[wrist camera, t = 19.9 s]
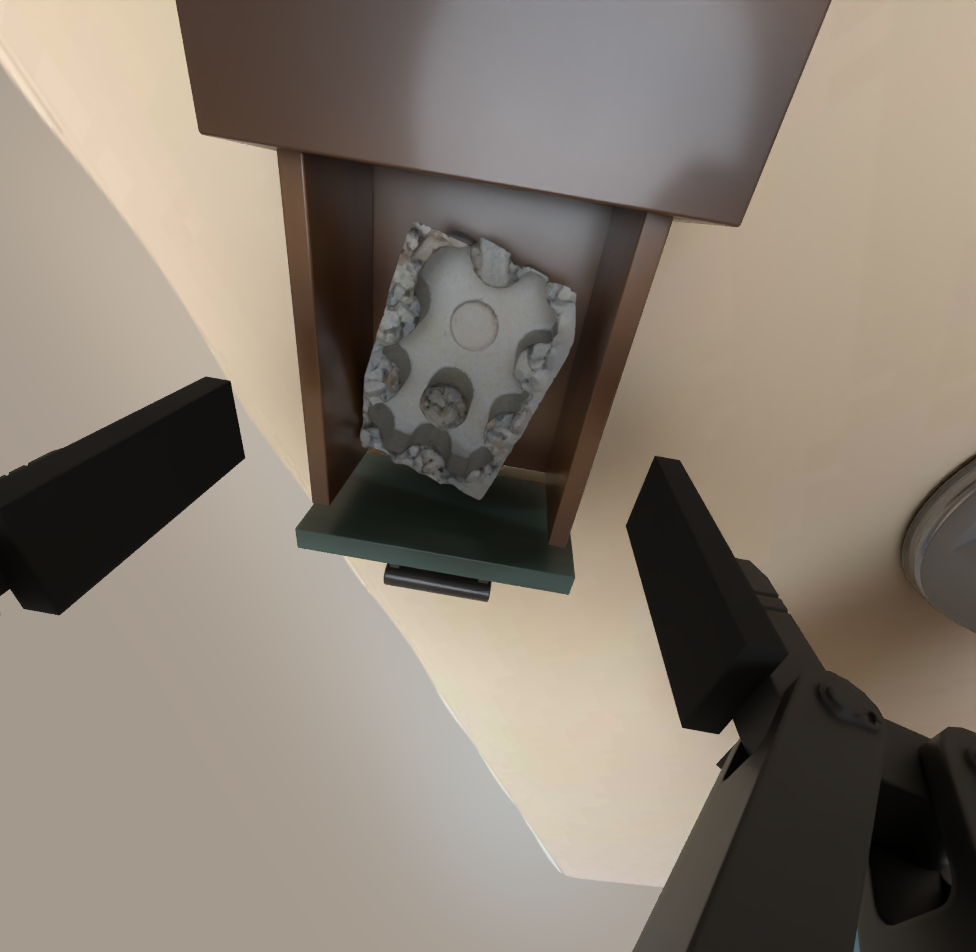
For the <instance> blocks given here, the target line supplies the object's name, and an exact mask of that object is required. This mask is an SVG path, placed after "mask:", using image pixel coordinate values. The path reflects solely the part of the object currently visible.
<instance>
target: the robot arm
mask: <svg viewBox="0 0 976 952" xmlns="http://www.w3.org/2000/svg"><path fill="white" fill-rule="evenodd" d="M243 459H245V455H244V449H243V444H242V439H241V434H240V428H239V423H238V418H237V413H236V408H235V403H234V397H233V392H232V387H231V382H230V381H228V380H222V379H217V378H211V377H204V378H202V379H200V380H198V381H196V382H194V383H192V384H190V385H188V386H186V387H184V388H182V389H180V390H178V391H176V392H174V393H172V394H170V395H168V396H166V397H164V398H162V399H160V400H158V401H156V402H154V403H152V404H150V405H148V406H146V407H144V408H142V409H140V410H138V411H136V412H134V413H132V414H130V415H128V416H126V417H124V418H122V419H120V420H118V421H116V422H114V423H112V424H110V425H108V426H106V427H104V428H102V429H100V430H98V431H96V432H94V433H92V434H90V435H88V436H86V437H84V438H82V439H81V440H78V441H76V442H75V443H72V444H70V445H68V446H66V447H64V448H61V449H58V450H55V451H51V452H49V453H47V454H46V455H43V456H42V457H39V458H37V459H35V460H33V461H31V462H30V463H28V466H25V465H23V466H21V467H19V468H17V469H15V470H13V471H11V472H9V475H8V476H6V475H3V476H1V477H0V596H1V595H2V594H4V593H5V592H6V591H8V590H9V589H11V591H12V592H13V594H14V595H15V597H16V598H17V600H18V601H19V603H20V604H21V606H22V607H23V609H27V610H34V611H39V612H45V613H50V614H55V615H60V614H61V613H63V612H64V611H65V610H66V609H68V608H69V607H70V606H71V605H72V604H73V603H74V602H76V601H77V600H78V599H79V598H80V597H82V596H83V595H84V594H85V593H86V592H88V591H89V590H90V589H91V588H92V587H94V586H95V585H96V584H97V583H98V582H99V581H101V580H102V579H103V578H104V577H105V576H107V575H108V574H109V573H110V572H111V571H112V570H113V569H115V568H116V567H117V566H118V565H119V564H121V563H122V562H123V561H124V560H125V559H126V558H128V557H129V556H130V555H131V554H132V553H134V552H135V551H136V550H137V549H138V548H140V547H141V546H142V545H143V544H144V543H145V542H147V541H148V540H149V539H150V538H151V537H153V536H154V535H155V534H156V533H157V532H158V531H160V530H161V529H162V528H163V527H164V526H166V525H167V524H168V523H169V522H170V521H171V520H172V519H174V518H175V517H176V516H177V515H178V514H180V513H181V512H182V511H183V510H184V509H186V508H187V507H188V506H189V505H190V504H192V502H194V501H195V500H196V499H197V498H199V497H200V496H201V495H202V494H203V493H204V492H206V491H207V490H208V489H209V488H210V487H212V486H213V485H214V484H215V483H216V482H217V481H219V480H220V479H221V478H222V477H223V476H225V475H226V474H227V473H228V472H229V471H230V470H232V469H233V468H234V467H235V466H236V465H238V464H239V463H240V462H241V461H242V460H243ZM626 528H627V532H628V535H629V539H630V542H631V546H632V549H633V553H634V557H635V560H636V564H637V567H638V571H639V575H640V578H641V582H642V585H643V589H644V592H645V596H646V600H647V603H648V607H649V610H650V614H651V618H652V621H653V625H654V628H655V632H656V635H657V639H658V643H659V646H660V650H661V653H662V657H663V661H664V664H665V668H666V671H667V675H668V679H669V682H670V686H671V689H672V693H673V696H674V700H675V704H676V707H677V711H678V714H679V718H680V722H681V725H682V728H686V729H692V730H697V731H703V732H708V733H714V734H720V733H721V731H722V730H723V729H724V728H725V727H726V726H727V725H728V723H729V722H730V721H731V720H732V719H733V721H734V723H735V726H736V729H737V731H738V734H739V736H740V740H739V741H738V742H737V743H736V744H735V745H734V746H733V747H732V748H731V749H730V750H729V751H728V752H727V753H726V754H725V756H724V757H723V758H722V759H721V760H720V761H719V762H718V763H717V764H716V765H717V766H718V767H719V768H721V769H722V770H721V772H720V774H719V776H718V778H717V780H716V782H715V784H714V786H713V788H712V790H711V792H710V794H709V796H708V798H707V800H706V802H705V804H704V806H703V808H702V811H701V813H700V815H699V817H698V819H697V821H696V823H695V825H694V827H693V829H692V831H691V833H690V835H689V837H688V839H687V841H686V843H685V845H684V847H683V849H682V851H681V853H680V855H679V857H678V860H677V862H676V864H675V866H674V868H673V870H672V872H671V874H670V876H669V878H668V880H667V882H666V884H665V886H664V888H663V890H662V892H661V894H660V896H659V898H658V901H657V903H656V904H655V906H654V909H653V911H652V913H651V915H650V917H649V919H648V921H647V923H646V925H645V927H644V929H643V931H642V933H641V935H640V937H639V939H638V941H637V944H636V946H635V947H634V949H633V952H976V733H975V732H972V731H970V730H967V729H964V728H961V727H947V728H946V729H945V730H943V731H942V732H940V733H939V734H937V735H936V736H935V737H933V738H932V739H930V738H927V737H925V736H923V735H921V734H918V733H916V732H914V731H912V730H909V729H907V728H905V727H902V726H900V725H898V724H896V723H893V722H891V721H889V720H887V719H884V718H883V716H882V714H881V713H880V711H879V709H878V707H877V706H876V705H875V704H874V703H873V702H872V701H871V700H870V699H869V698H868V697H867V695H866V694H865V693H864V692H862V691H861V690H860V689H858V688H857V687H856V686H855V685H853V684H852V683H851V682H849V681H848V680H846V679H844V678H842V677H840V676H838V675H837V674H835V673H833V672H830V671H826V670H825V669H824V667H823V666H822V664H821V662H820V661H819V659H818V658H817V656H816V654H815V653H814V651H813V650H812V648H811V646H810V645H809V643H808V642H807V640H806V638H805V637H804V635H803V634H802V632H801V630H800V629H799V627H798V626H797V624H796V622H795V621H794V619H793V618H792V616H791V614H788V613H787V611H788V610H787V608H786V606H785V605H784V603H783V602H782V600H781V599H778V596H779V595H778V594H777V592H776V590H775V589H774V587H773V586H772V584H771V582H770V581H769V579H768V578H767V577H766V576H765V575H764V574H763V573H762V572H761V571H760V570H759V569H758V568H757V567H756V566H755V565H754V564H753V563H751V562H750V561H749V560H743V559H738V558H735V557H734V555H733V553H732V551H731V550H730V548H729V546H728V544H727V543H726V541H725V539H724V537H723V536H722V534H721V532H720V530H719V528H718V527H717V525H716V523H715V521H714V520H713V518H712V516H711V514H710V513H709V511H708V509H707V507H706V506H705V504H704V502H703V500H702V499H701V497H700V495H699V493H698V491H697V490H696V488H695V486H694V484H693V483H692V481H691V479H690V477H689V476H688V474H687V472H686V470H685V469H684V467H683V465H682V463H681V462H680V460H675V459H670V458H664V457H658V456H655V457H654V459H653V462H652V464H651V466H650V469H649V471H648V474H647V476H646V478H645V481H644V483H643V486H642V488H641V490H640V493H639V495H638V498H637V500H636V502H635V505H634V507H633V510H632V512H631V514H630V517H629V519H628V522H627V524H626ZM902 566H903V569H904V573H905V575H906V577H907V579H908V580H909V581H910V583H911V584H912V585H913V586H914V587H915V588H916V589H917V590H918V591H919V592H920V593H921V594H922V595H923V596H924V597H925V598H926V599H927V600H928V601H929V602H930V603H931V604H932V605H933V606H934V607H935V608H936V609H937V610H939V611H940V612H941V613H943V614H945V615H946V616H947V617H949V618H950V619H952V620H953V621H955V622H956V623H958V624H960V625H962V626H964V627H965V628H967V629H969V630H971V631H972V632H974V633H976V459H975V460H973V461H972V462H970V463H969V464H968V465H966V466H965V467H963V468H962V469H961V470H959V471H958V472H957V473H956V474H955V475H953V476H952V477H951V478H950V479H948V480H947V481H946V482H945V483H944V484H943V485H942V486H941V487H940V488H939V489H938V490H937V491H936V492H935V493H934V494H933V495H932V496H931V497H930V498H929V499H928V500H927V501H926V503H925V504H924V505H923V506H922V508H921V509H920V510H919V512H918V513H917V515H916V516H915V518H914V519H913V521H912V523H911V525H910V527H909V529H908V531H907V533H906V536H905V539H904V543H903V547H902Z"/></svg>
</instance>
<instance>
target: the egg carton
mask: <svg viewBox="0 0 976 952" xmlns="http://www.w3.org/2000/svg"><path fill="white" fill-rule="evenodd" d="M413 227H414V228H410V230H409V232H408V234H407V237H406V240H405V243H404V247H403V249H402V251H401V253H400V256H399V260H398V263H397V267H396V271H395V273H394V276H393V279H392V282H391V286H390V289H389V293H388V297H387V301H386V304H387V305H386V308H385V311H384V314H383V317H382V320H381V323H380V326H379V329H378V332H377V335H376V342H375V344H374V347H373V350H372V353H371V357H370V360H369V363H368V366H367V370H366V373H365V381H364V394H363V401H364V404H363V425H362V428H361V431H360V443H361V445H362V447H364V448H367V449H372V448H375V449H378V450H380V451H383V452H385V453H386V454H388V455H389V456H390V458H391V460H392V461H393V462H394V463H396V464H405V465H408V466H410V467H412V468H413V469H415V471H417V472H418V473H420V474H424V475H427V476H429V477H430V478H432V479H434V480H435V481H437V482H438V483H440V484H443V483H446V484H452V485H454V486H455V487H457V488H458V489H459V490H460V491H462V492H463V493H465V494H467V495H469V496H471V497H473V498H476V499H478V500H480V499H481V498H483V496H484V495H485V493H486V492H487V490H488V489H489V487H490V486H491V484H492V483H493V481H494V479H495V478H496V476H497V475H498V473H499V471H500V469H501V467H502V465H503V463H504V461H505V460H506V458H507V456H508V455H509V454H510V453H511V451H512V449H513V447H514V445H515V443H516V442H517V441H518V440H519V439H520V438H521V436H522V434H523V432H524V431H525V429H526V427H527V425H528V423H529V421H530V419H531V417H532V416H533V414H534V412H535V411H536V409H537V408H538V406H539V404H540V403H541V401H542V399H543V397H544V395H545V393H546V391H547V389H548V388H549V387H550V385H551V384H552V382H553V381H554V379H555V377H556V375H557V374H558V372H559V370H560V368H561V367H562V365H563V363H564V362H565V360H566V358H567V356H568V354H569V352H570V349H571V347H572V344H573V342H574V336H575V323H576V293H575V292H574V291H573V290H572V289H570V288H568V287H566V286H564V285H560V284H557V283H551V282H550V281H549V275H548V273H546V272H544V271H542V270H540V269H538V268H536V267H535V266H534V265H527V266H522V267H520V266H517V265H516V264H514V263H513V262H512V261H511V253H509V252H507V251H506V250H505V249H503V248H501V247H499V246H497V245H496V244H494V243H492V242H490V241H488V240H487V239H485V238H482V237H480V239H479V242H476V240H475V239H473V238H472V237H470V236H468V235H466V234H465V233H463V232H460V231H454V232H451V233H449V234H448V235H446V234H444V233H442V232H441V231H440V230H436V229H433V228H430V227H428V226H425V225H423V224H421V223H417V222H415V223H413Z"/></svg>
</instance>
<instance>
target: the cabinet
mask: <svg viewBox="0 0 976 952" xmlns="http://www.w3.org/2000/svg"><path fill="white" fill-rule="evenodd" d="M831 1H832V0H176V5H177V11H178V16H179V22H180V28H181V33H182V39H183V44H184V50H185V56H186V61H187V67H188V73H189V78H190V84H191V89H192V95H193V101H194V106H195V112H196V118H197V123H198V129H199V132H200V133H201V134H202V135H206V136H211V137H215V138H220V139H225V140H229V141H233V142H238V143H243V144H247V145H252V146H256V147H261V148H265V149H270V150H274V151H277V149H283V150H289V151H294V152H300V153H306V154H312V155H317V156H323V157H329V158H335V159H341V160H346V161H352V162H358V163H364V164H369V165H375V166H381V167H387V168H393V169H398V170H404V171H410V172H416V173H421V174H427V175H433V176H439V177H444V178H450V179H456V180H462V181H468V182H473V183H479V184H485V185H491V186H496V187H502V188H508V189H514V190H520V191H525V192H531V193H537V194H543V195H548V196H554V197H560V198H566V199H572V200H577V201H583V202H589V203H595V204H600V205H606V206H612V207H618V208H624V209H629V210H635V211H641V212H647V213H652V214H658V215H664V216H670V217H674V218H673V221H677V222H688V223H698V224H709V225H719V226H729V227H739V226H740V225H741V223H742V220H743V218H744V215H745V213H746V210H747V208H748V205H749V203H750V200H751V198H752V195H753V193H754V190H755V188H756V186H757V183H758V181H759V178H760V176H761V173H762V171H763V168H764V166H765V163H766V161H767V158H768V156H769V153H770V151H771V149H772V146H773V144H774V141H775V139H776V136H777V134H778V131H779V129H780V126H781V124H782V121H783V119H784V116H785V114H786V112H787V109H788V107H789V104H790V102H791V99H792V97H793V94H794V92H795V89H796V87H797V84H798V82H799V79H800V77H801V75H802V72H803V70H804V67H805V65H806V62H807V60H808V57H809V55H810V52H811V50H812V47H813V45H814V42H815V40H816V38H817V35H818V33H819V30H820V28H821V25H822V23H823V20H824V18H825V15H826V13H827V10H828V8H829V5H830V3H831Z"/></svg>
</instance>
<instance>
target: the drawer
mask: <svg viewBox="0 0 976 952" xmlns="http://www.w3.org/2000/svg"><path fill="white" fill-rule="evenodd" d="M277 156H278V166H279V176H280V186H281V195H282V205H283V215H284V225H285V235H286V245H287V255H288V265H289V275H290V284H291V294H292V304H293V314H294V324H295V334H296V344H297V354H298V364H299V373H300V383H301V393H302V403H303V413H304V423H305V433H306V443H307V452H308V462H309V472H310V482H311V492H312V502H313V503H314V504H313V506H312V507H311V509H310V510H309V511H308V513H307V514H306V515H305V516H304V518H303V519H302V521H301V522H300V523H299V525H298V526H297V527H296V537H297V545H298V547H299V548H304V549H310V550H316V551H321V552H327V553H332V554H339V555H344V556H350V557H355V558H361V559H367V560H372V561H378V562H384V563H387V565H386V569H385V573H384V584H386V585H392V586H398V587H404V588H409V589H415V590H421V591H427V592H432V593H438V594H444V595H449V596H455V597H461V598H467V599H472V600H478V601H484V602H488V600H489V596H490V590H491V583H492V581H493V582H498V583H504V584H510V585H516V586H521V587H527V588H533V589H538V590H544V591H550V592H556V593H561V594H567V595H568V594H569V593H570V590H571V587H572V585H573V582H574V579H575V572H574V563H573V554H572V544H571V535H570V531H571V528H572V525H573V522H574V519H575V516H576V513H577V510H578V507H579V504H580V501H581V498H582V495H583V492H584V489H585V486H586V483H587V480H588V477H589V473H590V470H591V467H592V464H593V461H594V458H595V455H596V452H597V449H598V446H599V443H600V440H601V437H602V434H603V431H604V428H605V425H606V422H607V419H608V416H609V413H610V410H611V406H612V403H613V400H614V397H615V394H616V391H617V388H618V385H619V382H620V379H621V376H622V373H623V370H624V367H625V364H626V361H627V358H628V355H629V352H630V349H631V346H632V343H633V339H634V336H635V333H636V330H637V327H638V324H639V321H640V318H641V315H642V312H643V309H644V306H645V303H646V300H647V297H648V294H649V291H650V288H651V285H652V282H653V279H654V275H655V272H656V269H657V266H658V263H659V260H660V257H661V254H662V251H663V248H664V245H665V242H666V239H667V236H668V233H669V230H670V227H671V224H672V221H673V218H674V217H670V216H664V215H658V214H652V213H647V212H641V211H635V210H629V209H624V208H618V207H612V206H606V205H600V204H595V203H589V202H583V201H577V200H572V199H566V198H560V197H554V196H548V195H543V194H537V193H531V192H525V191H520V190H514V189H508V188H502V187H496V186H491V185H485V184H479V183H473V182H468V181H462V180H456V179H450V178H444V177H439V176H433V175H427V174H421V173H416V172H410V171H404V170H398V169H393V168H387V167H381V166H375V165H369V164H364V163H358V162H352V161H346V160H341V159H335V158H329V157H323V156H317V155H312V154H306V153H300V152H294V151H289V150H283V149H277ZM415 222H417V223H421V224H423V225H425V226H428V227H430V228H433V229H436V230H440V231H441V232H442V233H444V234H446V235H448V234H449V233H451V232H454V231H460V232H463V233H465V234H466V235H468V236H470V237H472V238H473V239H475V240H476V242H479V239H480V237H482V238H485V239H487V240H488V241H490V242H492V243H494V244H496V245H497V246H499V247H501V248H503V249H505V250H506V251H507V252H509V253H511V261H512V262H513V263H514V264H516V265H517V266H520V267H522V266H527V265H534V266H535V267H536V268H538V269H540V270H542V271H544V272H546V273H548V275H549V281H550V282H551V283H557V284H560V285H564V286H566V287H568V288H570V289H572V290H573V291H574V292H575V293H576V323H575V336H574V342H573V344H572V347H571V349H570V352H569V354H568V356H567V358H566V360H565V362H564V363H563V365H562V367H561V368H560V370H559V372H558V374H557V375H556V377H555V379H554V381H553V382H552V384H551V385H550V387H549V388H548V389H547V391H546V393H545V395H544V397H543V399H542V401H541V403H540V404H539V406H538V408H537V409H536V411H535V412H534V414H533V416H532V417H531V419H530V421H529V423H528V425H527V427H526V429H525V431H524V432H523V434H522V436H521V438H520V439H519V440H518V441H517V442H516V443H515V445H514V447H513V449H512V451H511V453H510V454H509V455H508V456H507V458H506V460H505V461H504V463H503V465H507V466H513V467H518V468H524V469H530V470H536V471H541V472H545V479H546V483H540V482H534V481H528V480H523V479H517V478H511V477H505V476H500V475H497V476H496V478H495V479H494V481H493V483H492V484H491V486H490V487H489V489H488V490H487V492H486V493H485V495H484V496H483V498H481V499H480V500H478V499H476V498H473V497H471V496H469V495H467V494H465V493H463V492H462V491H460V490H459V489H458V488H457V487H455V486H454V485H452V484H446V483H443V484H440V483H438V482H437V481H435V480H434V479H432V478H430V477H429V476H427V475H424V474H420V473H418V472H417V471H415V469H413V468H412V467H410V466H408V465H405V464H396V463H394V462H393V461H392V460H391V458H390V456H385V455H379V454H373V453H368V452H367V451H368V449H367V448H364V447H362V445H361V443H360V431H361V428H362V425H363V404H364V401H363V394H364V381H365V373H366V370H367V366H368V363H369V360H370V357H371V353H372V350H373V347H374V344H375V342H376V335H377V332H378V329H379V326H380V323H381V320H382V317H383V314H384V311H385V308H386V305H387V304H386V301H387V297H388V293H389V289H390V286H391V282H392V279H393V276H394V273H395V271H396V267H397V263H398V260H399V256H400V253H401V251H402V249H403V247H404V243H405V240H406V237H407V234H408V232H409V230H410V228H414V227H413V223H415Z"/></svg>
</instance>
